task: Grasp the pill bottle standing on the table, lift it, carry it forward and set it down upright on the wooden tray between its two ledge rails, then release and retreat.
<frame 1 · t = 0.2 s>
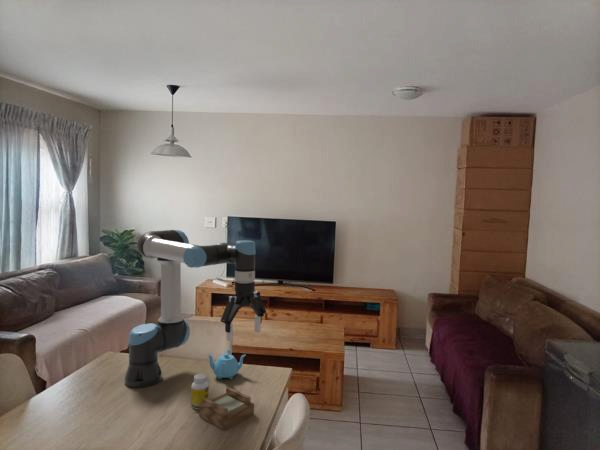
hand: (243, 336, 154), 27 cm above the table, fingers open, 13 cm apart
wooden tray: (226, 415, 149), on the table
pill bottle: (199, 406, 155), on the table
teapot: (226, 376, 181), on the table
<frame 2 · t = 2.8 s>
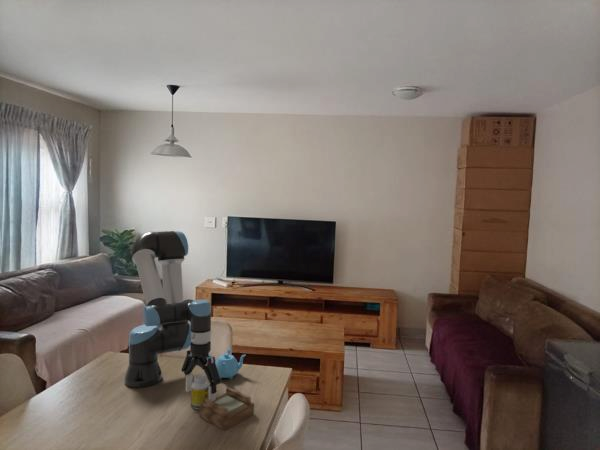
hand: (200, 396, 155), 4 cm above the table, fingers open, 13 cm apart
nothing on the table moved.
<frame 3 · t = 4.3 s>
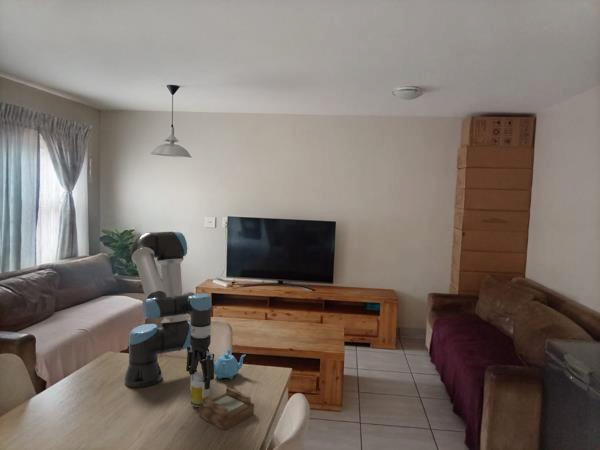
hand: (199, 393, 155), 5 cm above the table, fingers closed on pill bottle, 6 cm apart
pill bottle: (199, 403, 156), on the table, touching gripper
everything else where it was.
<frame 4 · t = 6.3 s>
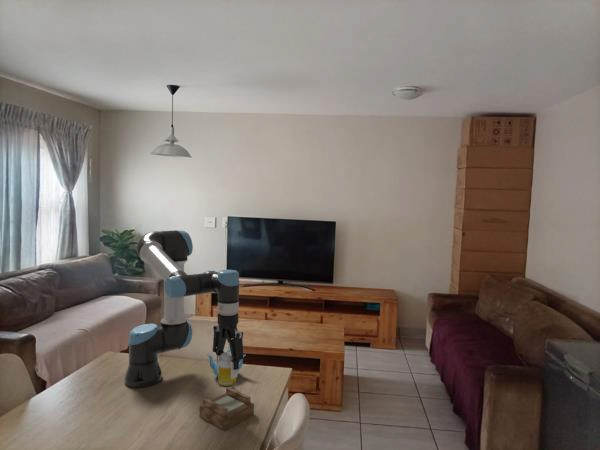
hand: (227, 374, 148), 15 cm above the table, fingers closed on pill bottle, 6 cm apart
pill bottle: (227, 385, 148), point 11 cm above the table, touching gripper
everything else where it was.
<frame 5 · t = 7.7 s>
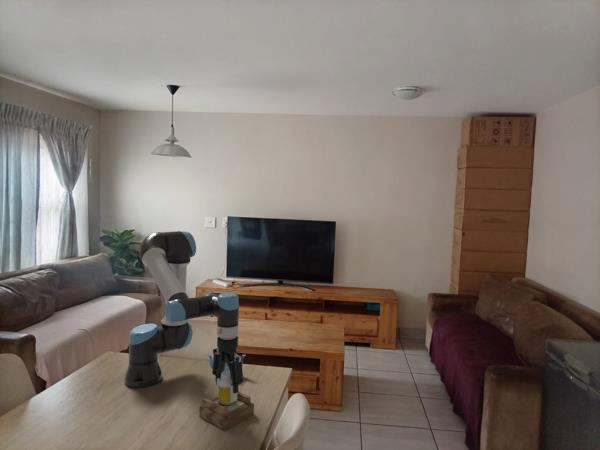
hand: (227, 397, 148), 7 cm above the table, fingers closed on pill bottle, 6 cm apart
pill bottle: (227, 404, 149), point 4 cm above the table, touching gripper, wooden tray
everything else where it was.
when the fingers open (6 cm above the table, at t = 8.2 s): pill bottle stays where it is, resting on wooden tray.
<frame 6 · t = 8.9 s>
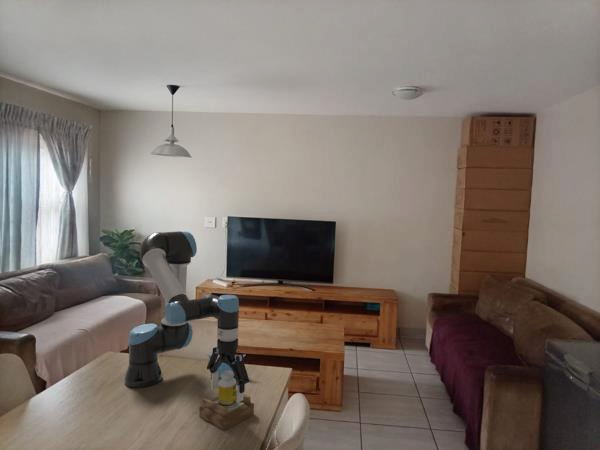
hand: (227, 394, 148), 8 cm above the table, fingers open, 13 cm apart
pill bottle: (227, 404, 149), point 4 cm above the table, touching wooden tray
everything else where it was.
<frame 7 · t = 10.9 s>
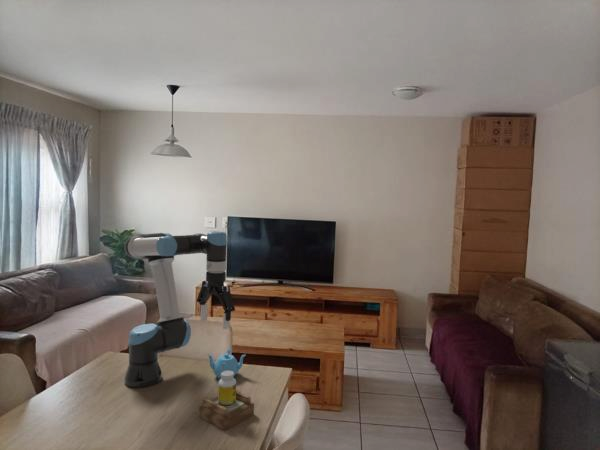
hand: (214, 324, 159), 30 cm above the table, fingers open, 13 cm apart
nothing on the table moved.
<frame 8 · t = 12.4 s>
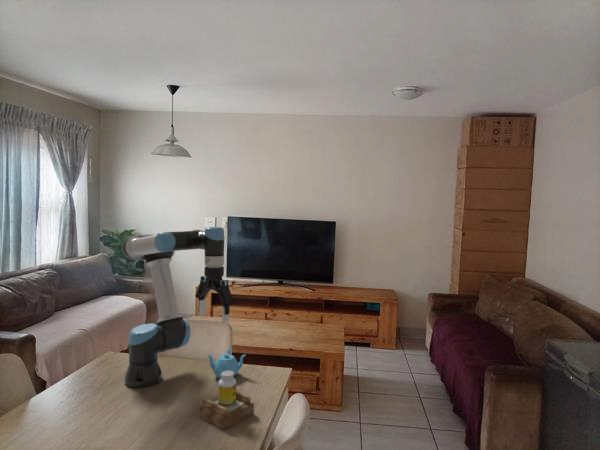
hand: (213, 319, 161), 32 cm above the table, fingers open, 13 cm apart
nothing on the table moved.
at the end: pill bottle inside the target area on the wooden tray (0.1 cm from its centre), point 4.1 cm above the wooden tray's base; pill bottle tilted 0°; the gripper is holding nothing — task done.
